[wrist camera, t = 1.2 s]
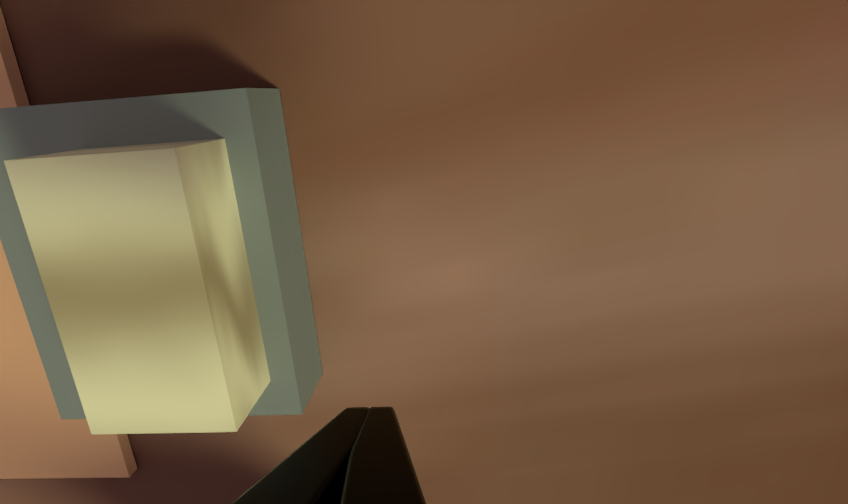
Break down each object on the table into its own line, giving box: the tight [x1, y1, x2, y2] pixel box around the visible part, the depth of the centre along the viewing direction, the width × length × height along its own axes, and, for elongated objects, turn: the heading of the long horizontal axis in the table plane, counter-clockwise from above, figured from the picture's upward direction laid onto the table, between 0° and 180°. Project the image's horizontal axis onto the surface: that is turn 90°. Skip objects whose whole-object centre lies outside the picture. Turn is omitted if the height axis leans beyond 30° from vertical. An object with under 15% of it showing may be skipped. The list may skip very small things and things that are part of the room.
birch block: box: [4, 139, 270, 434], centre depth 16 cm, size 9×5×3 cm, turn 4°
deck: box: [0, 88, 323, 419], centre depth 19 cm, size 12×10×3 cm
